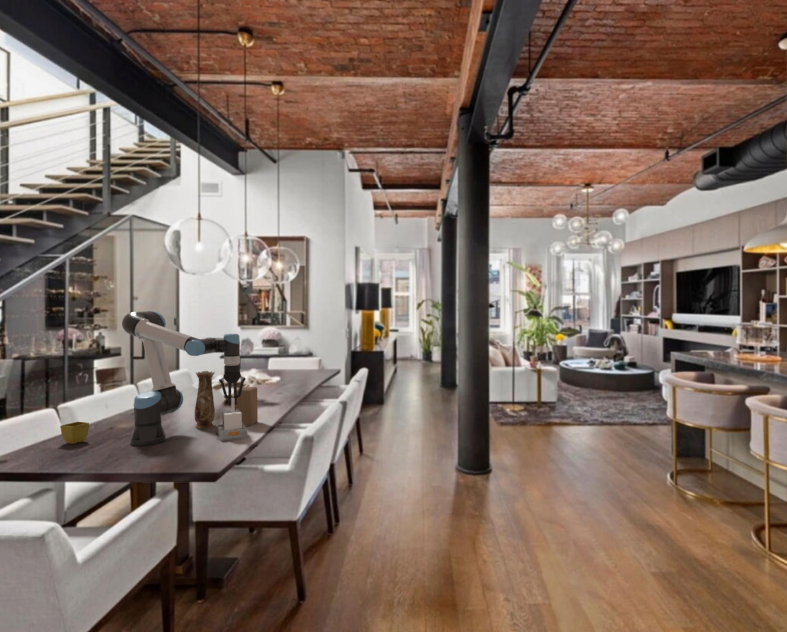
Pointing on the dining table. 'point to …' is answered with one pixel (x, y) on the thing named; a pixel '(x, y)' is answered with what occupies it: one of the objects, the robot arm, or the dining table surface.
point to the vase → (204, 400)
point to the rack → (231, 434)
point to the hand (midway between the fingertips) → (232, 411)
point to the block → (248, 405)
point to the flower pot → (74, 432)
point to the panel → (232, 421)
